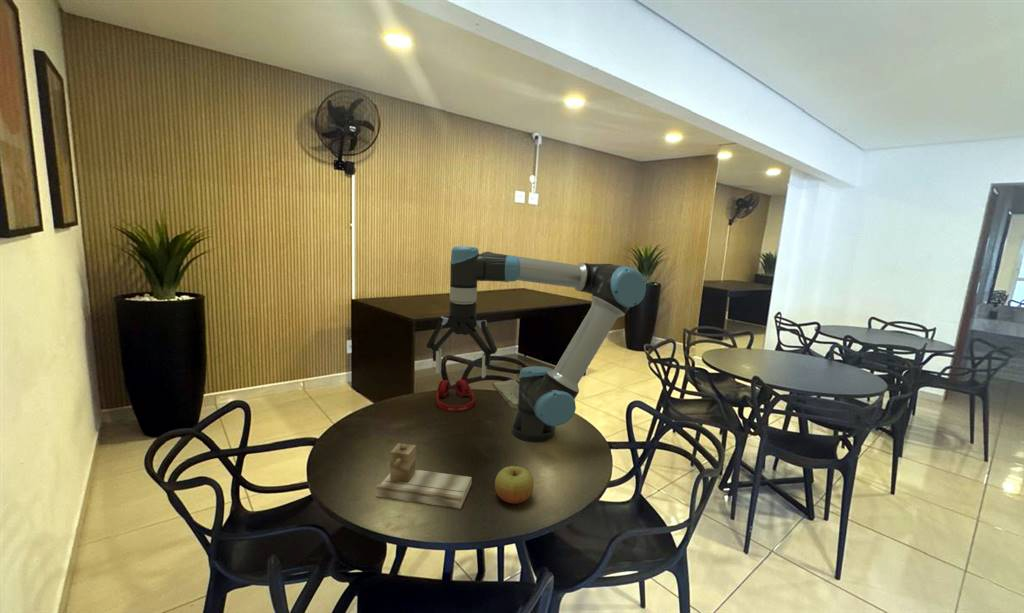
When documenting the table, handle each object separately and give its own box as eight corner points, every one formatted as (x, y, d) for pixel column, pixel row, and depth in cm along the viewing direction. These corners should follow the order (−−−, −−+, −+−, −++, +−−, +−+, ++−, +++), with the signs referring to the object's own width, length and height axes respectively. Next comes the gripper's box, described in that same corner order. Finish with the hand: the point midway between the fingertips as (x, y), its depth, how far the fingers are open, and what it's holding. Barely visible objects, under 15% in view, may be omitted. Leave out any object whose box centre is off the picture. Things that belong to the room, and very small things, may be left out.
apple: (502, 513, 106) (504, 483, 105) (488, 491, 115) (490, 463, 114) (538, 504, 110) (540, 475, 109) (522, 484, 119) (523, 457, 118)
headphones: (434, 392, 182) (437, 418, 163) (434, 377, 180) (438, 402, 161) (469, 391, 185) (476, 416, 167) (470, 376, 183) (477, 400, 165)
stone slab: (517, 406, 165) (490, 378, 192) (516, 416, 166) (490, 387, 193) (546, 403, 170) (516, 375, 197) (545, 412, 171) (516, 384, 198)
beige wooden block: (415, 472, 118) (415, 441, 117) (404, 488, 111) (404, 455, 109) (398, 470, 119) (398, 439, 118) (386, 485, 112) (386, 453, 110)
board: (471, 483, 118) (471, 474, 117) (460, 508, 107) (460, 498, 107) (394, 473, 121) (394, 464, 121) (376, 496, 110) (376, 486, 110)
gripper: (508, 302, 124) (505, 374, 127) (425, 296, 127) (424, 366, 131) (504, 307, 116) (500, 382, 120) (415, 300, 120) (415, 373, 124)
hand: (460, 374), depth 126 cm, fingers open, 13 cm apart
